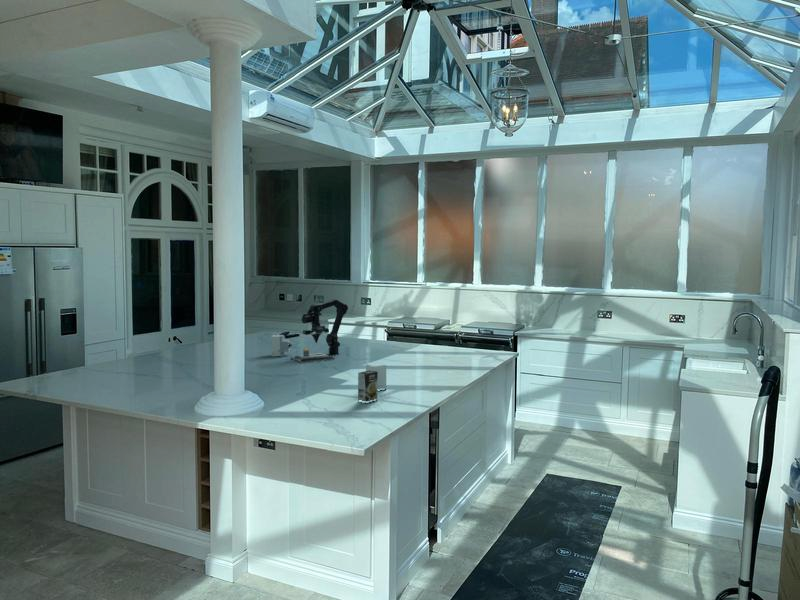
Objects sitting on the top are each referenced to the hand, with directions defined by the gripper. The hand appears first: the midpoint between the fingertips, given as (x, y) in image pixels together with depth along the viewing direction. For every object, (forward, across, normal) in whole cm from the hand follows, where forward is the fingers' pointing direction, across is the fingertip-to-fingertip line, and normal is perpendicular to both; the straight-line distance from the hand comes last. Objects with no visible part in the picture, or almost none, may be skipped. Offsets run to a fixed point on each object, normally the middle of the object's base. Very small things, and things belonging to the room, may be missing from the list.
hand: (316, 342), depth 465 cm
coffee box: (+9, -27, -132) cm, 135 cm away
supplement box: (+10, -11, -111) cm, 112 cm away
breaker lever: (+9, -11, -6) cm, 15 cm away
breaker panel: (+10, -6, -6) cm, 13 cm away
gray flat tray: (+9, -6, -6) cm, 13 cm away
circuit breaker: (+10, -20, +18) cm, 29 cm away
